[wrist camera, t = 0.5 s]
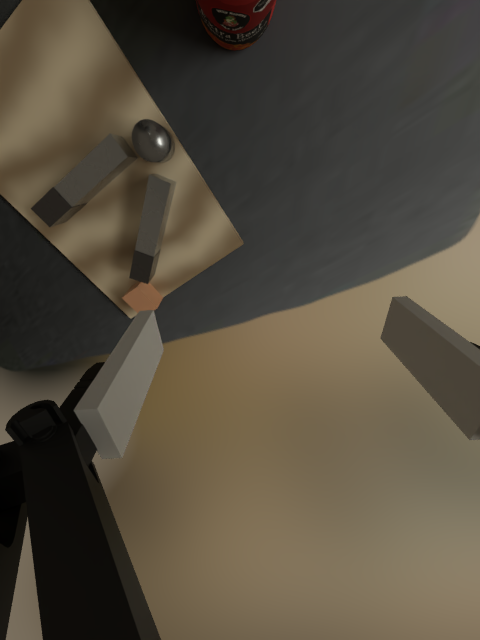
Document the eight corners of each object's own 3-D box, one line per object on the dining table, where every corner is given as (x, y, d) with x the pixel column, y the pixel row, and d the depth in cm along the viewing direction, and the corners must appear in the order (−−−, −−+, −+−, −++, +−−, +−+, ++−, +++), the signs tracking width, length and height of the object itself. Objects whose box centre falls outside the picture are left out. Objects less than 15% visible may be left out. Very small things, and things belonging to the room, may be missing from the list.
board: (-61, 126, 29) (-72, 125, 28) (65, -38, 23) (57, -48, 22) (133, 315, 42) (130, 318, 41) (243, 241, 36) (243, 243, 35)
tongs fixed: (153, 106, 27) (142, 98, 24) (181, 149, 29) (175, 147, 26) (49, 204, 32) (28, 209, 29) (80, 235, 34) (63, 243, 31)
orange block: (130, 287, 38) (121, 297, 35) (144, 277, 37) (137, 286, 34) (148, 306, 40) (142, 317, 37) (163, 297, 39) (157, 308, 36)
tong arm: (156, 173, 31) (148, 174, 27) (176, 182, 31) (170, 183, 28) (137, 268, 37) (129, 278, 34) (154, 274, 37) (147, 284, 34)
